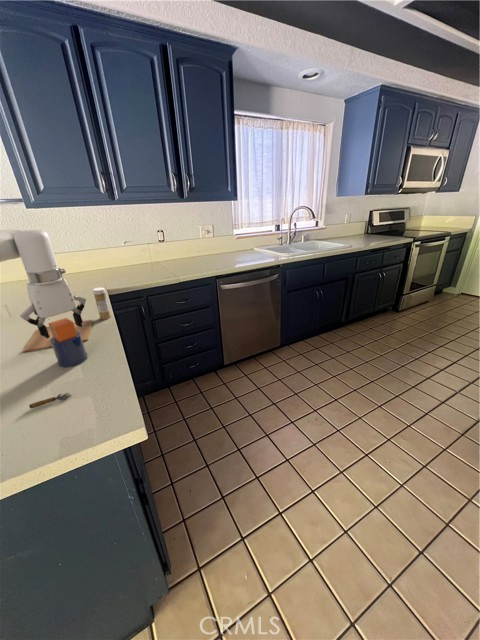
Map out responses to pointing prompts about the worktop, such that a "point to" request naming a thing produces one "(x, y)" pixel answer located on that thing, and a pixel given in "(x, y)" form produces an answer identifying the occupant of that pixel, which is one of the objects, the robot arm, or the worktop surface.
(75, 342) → the navy cup
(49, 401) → the fork
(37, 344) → the wooden cutting board
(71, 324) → the orange block
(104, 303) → the sprinkles bottle
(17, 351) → the worktop surface
